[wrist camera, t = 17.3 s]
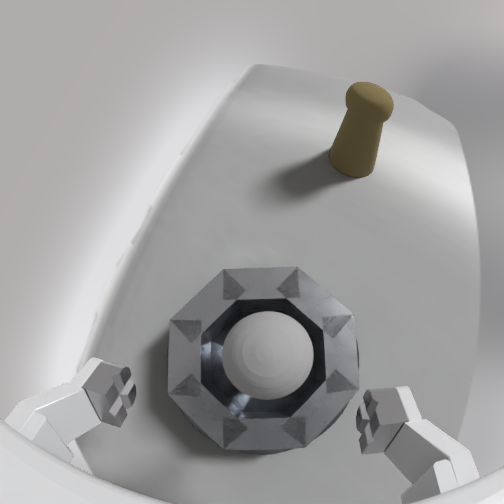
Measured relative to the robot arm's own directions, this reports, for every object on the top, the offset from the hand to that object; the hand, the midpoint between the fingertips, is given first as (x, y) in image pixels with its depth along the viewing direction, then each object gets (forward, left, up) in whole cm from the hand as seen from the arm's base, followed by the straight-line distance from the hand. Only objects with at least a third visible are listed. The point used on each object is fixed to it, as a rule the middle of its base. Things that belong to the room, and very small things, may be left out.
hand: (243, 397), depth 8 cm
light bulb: (+2, -1, -15) cm, 15 cm away
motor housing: (+2, -1, -16) cm, 16 cm away
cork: (+25, -13, -16) cm, 32 cm away
